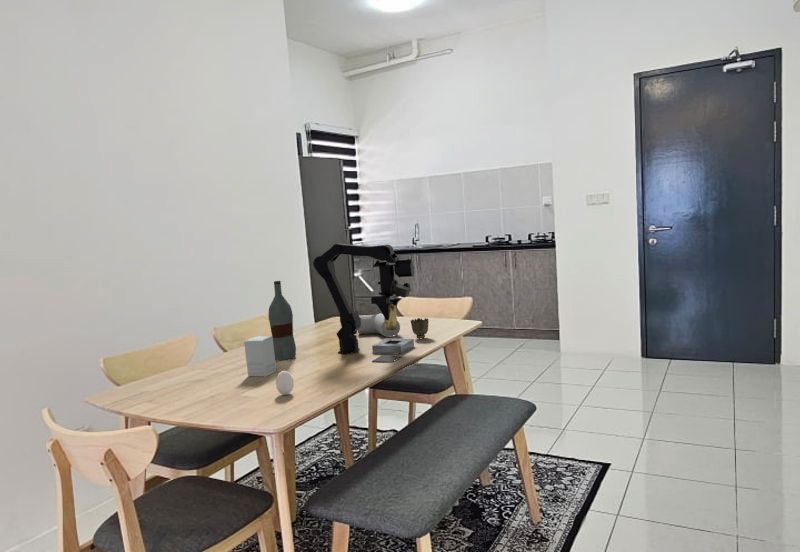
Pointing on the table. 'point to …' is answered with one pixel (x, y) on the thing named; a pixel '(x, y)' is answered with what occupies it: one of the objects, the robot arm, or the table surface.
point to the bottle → (281, 326)
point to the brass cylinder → (391, 319)
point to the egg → (284, 382)
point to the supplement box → (260, 356)
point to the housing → (393, 345)
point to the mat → (386, 358)
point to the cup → (420, 327)
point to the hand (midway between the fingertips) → (390, 318)
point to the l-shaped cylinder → (375, 325)
